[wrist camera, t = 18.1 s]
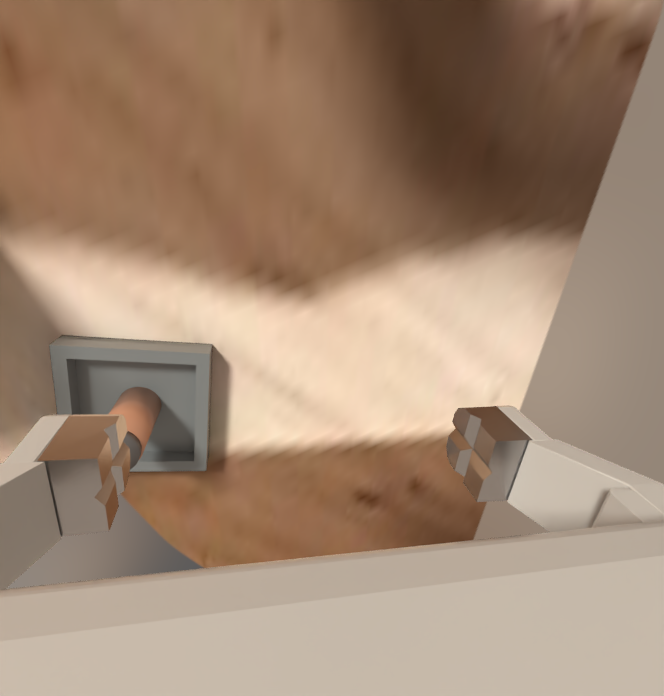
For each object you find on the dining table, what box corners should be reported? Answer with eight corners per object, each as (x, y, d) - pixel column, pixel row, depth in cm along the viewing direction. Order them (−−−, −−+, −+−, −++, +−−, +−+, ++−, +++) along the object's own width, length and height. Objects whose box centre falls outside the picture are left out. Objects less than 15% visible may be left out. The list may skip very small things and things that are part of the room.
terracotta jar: (116, 385, 38) (84, 432, 31) (161, 387, 39) (140, 433, 32) (118, 422, 39) (88, 474, 32) (161, 422, 40) (141, 474, 33)
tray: (62, 335, 36) (49, 345, 34) (212, 344, 39) (209, 353, 37) (74, 456, 41) (63, 471, 38) (208, 456, 44) (206, 470, 41)
